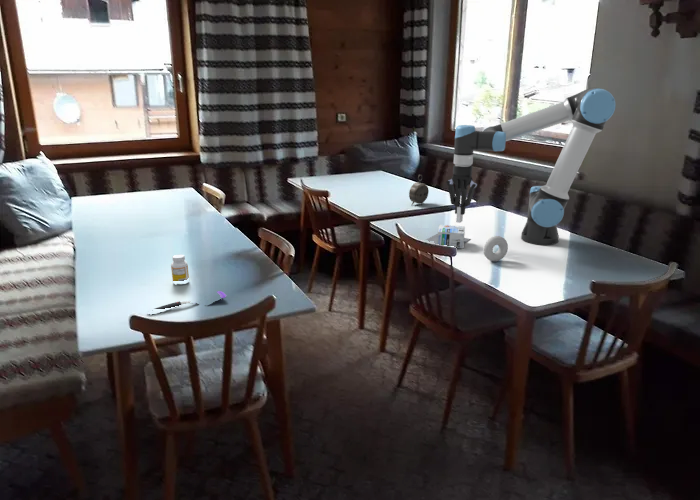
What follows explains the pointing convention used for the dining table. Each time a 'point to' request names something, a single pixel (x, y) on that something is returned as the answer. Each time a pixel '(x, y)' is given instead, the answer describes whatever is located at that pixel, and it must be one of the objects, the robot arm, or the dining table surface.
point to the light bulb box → (451, 235)
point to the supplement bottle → (179, 268)
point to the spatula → (186, 302)
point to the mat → (435, 237)
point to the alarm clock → (418, 192)
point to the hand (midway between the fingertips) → (459, 221)
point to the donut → (501, 251)
